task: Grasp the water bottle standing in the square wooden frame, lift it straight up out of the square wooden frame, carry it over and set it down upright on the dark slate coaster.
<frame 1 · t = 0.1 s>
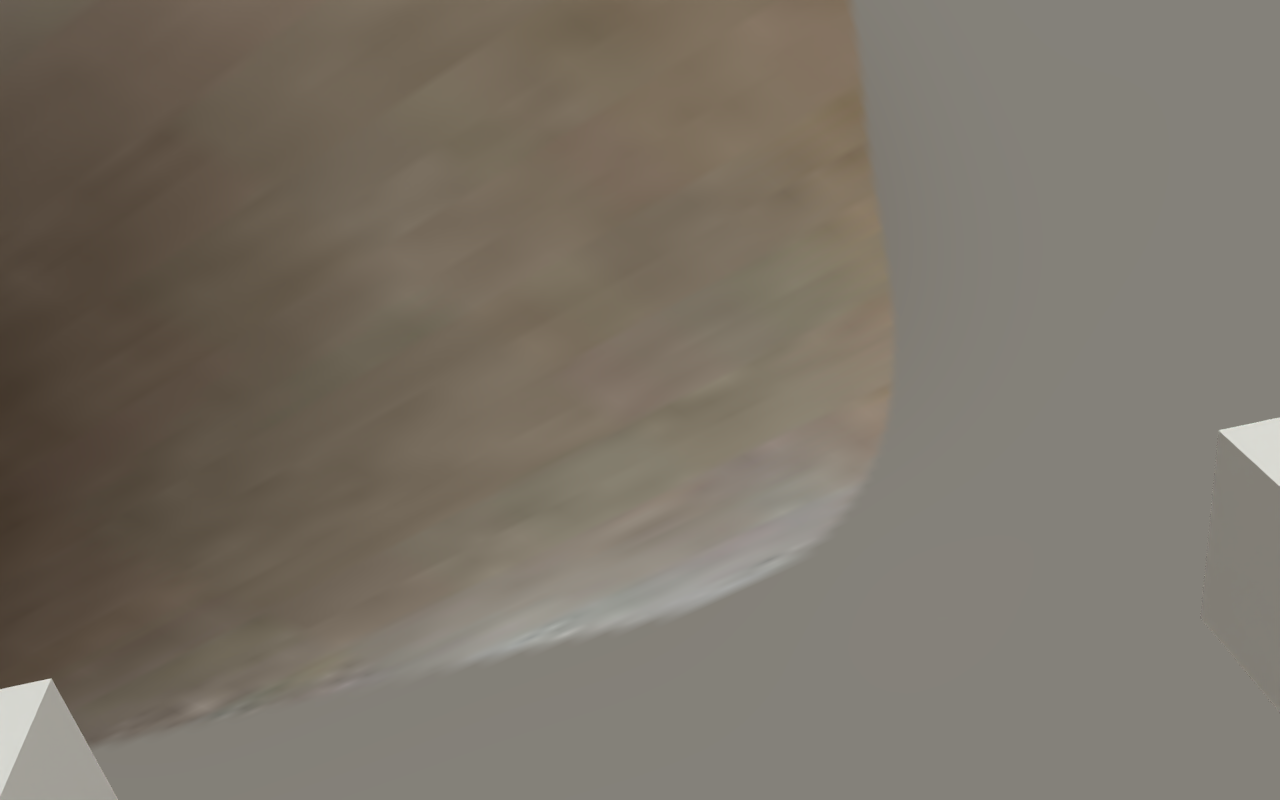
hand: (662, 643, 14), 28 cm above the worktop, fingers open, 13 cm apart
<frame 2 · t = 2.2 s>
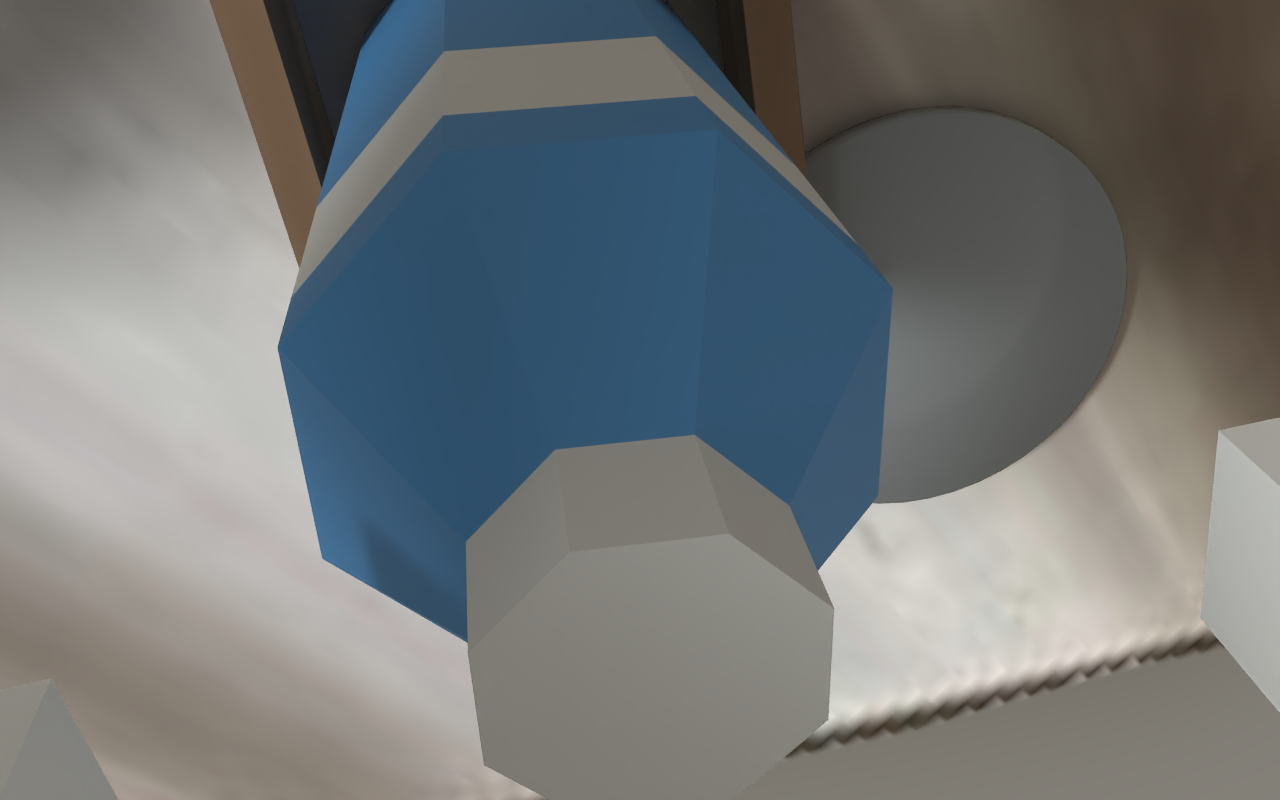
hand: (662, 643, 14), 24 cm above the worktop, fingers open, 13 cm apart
water bottle: (526, 82, 35), resting in square wooden frame
coaster: (913, 315, 40), on the worktop
square wooden frame: (526, 84, 34), on the worktop
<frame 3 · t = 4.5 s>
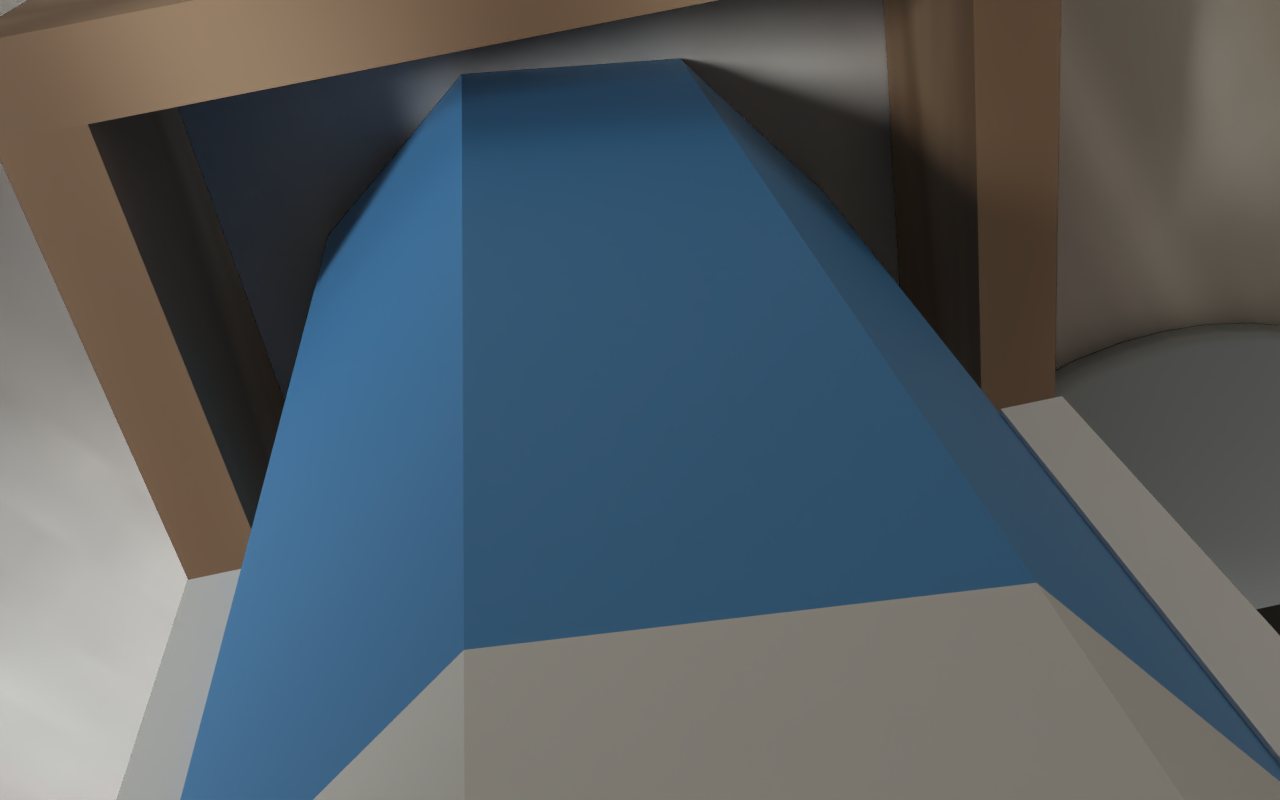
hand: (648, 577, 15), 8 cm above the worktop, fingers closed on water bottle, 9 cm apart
water bottle: (586, 302, 22), resting in square wooden frame, touching gripper
coaster: (1147, 604, 27), on the worktop
square wooden frame: (588, 307, 22), on the worktop
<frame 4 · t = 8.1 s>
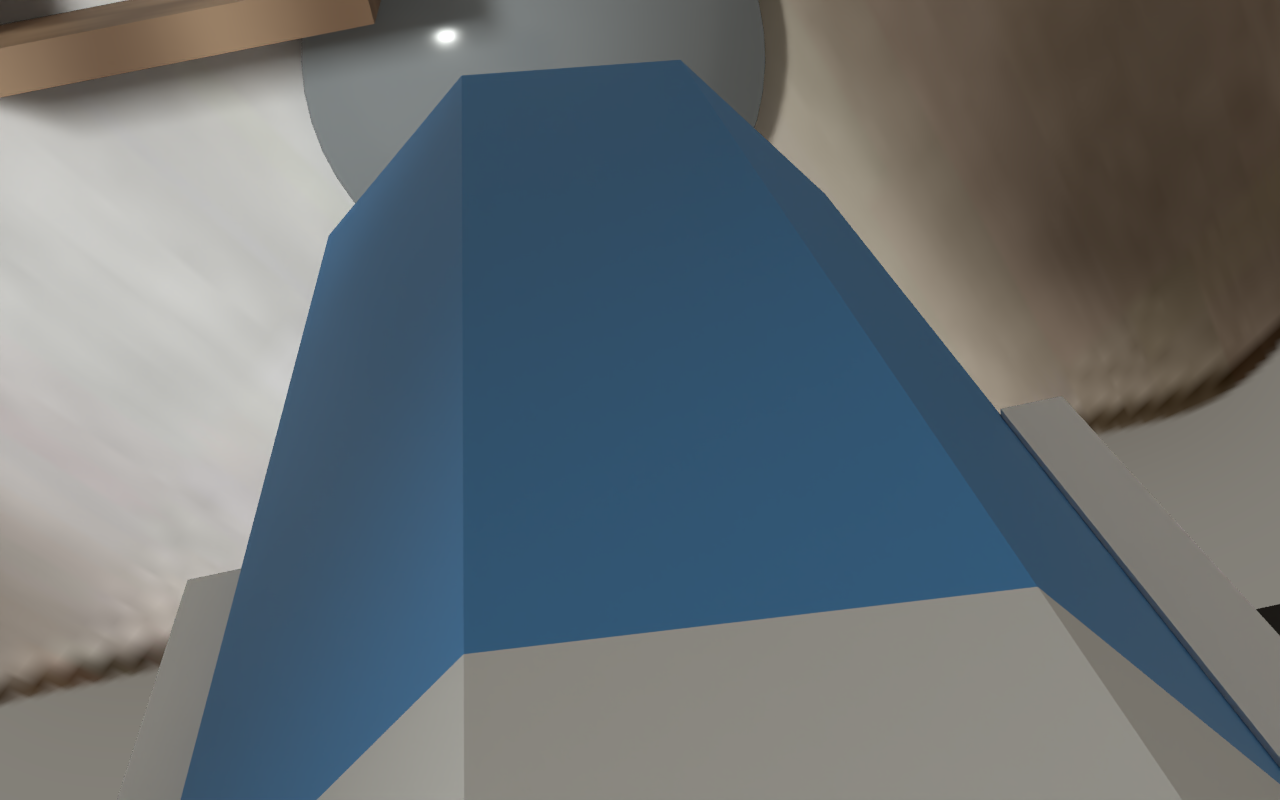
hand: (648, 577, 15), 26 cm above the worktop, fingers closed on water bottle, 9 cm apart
water bottle: (587, 303, 22), point 18 cm above the worktop, touching gripper
coaster: (537, 70, 37), on the worktop
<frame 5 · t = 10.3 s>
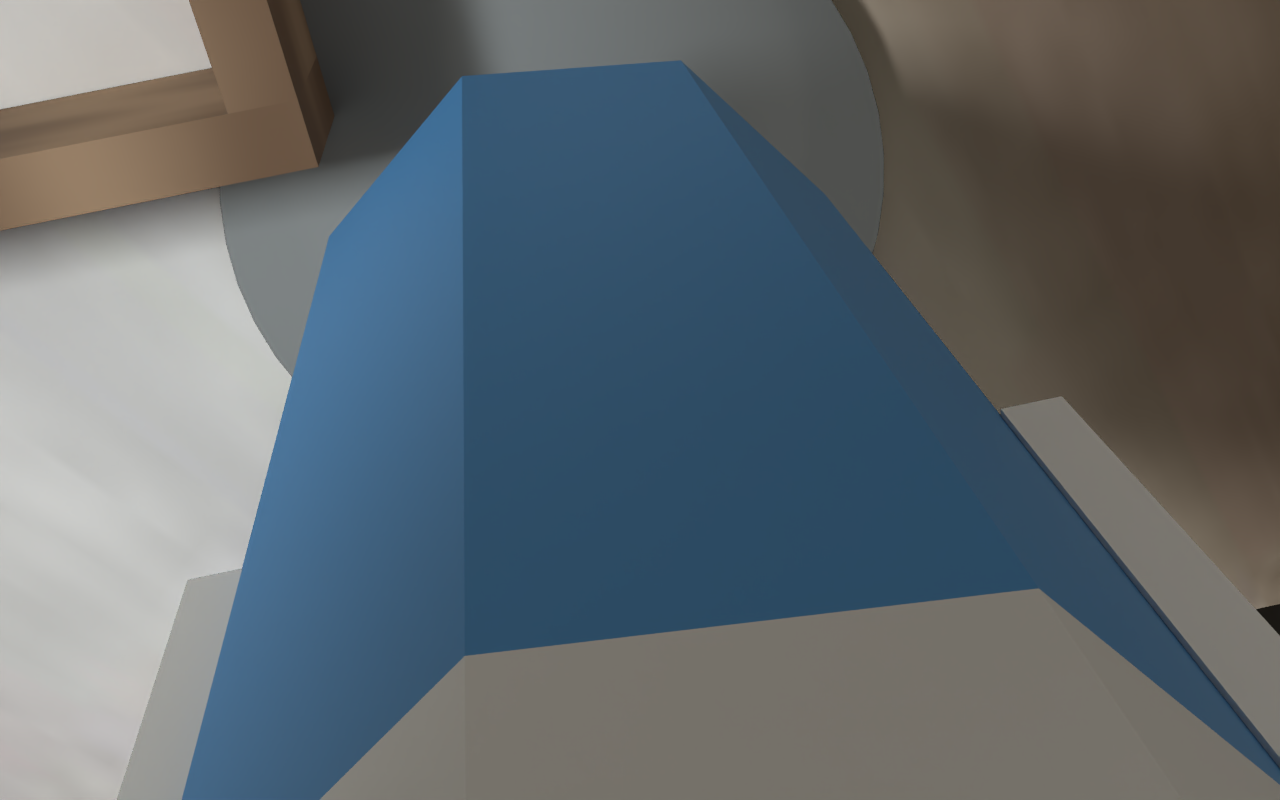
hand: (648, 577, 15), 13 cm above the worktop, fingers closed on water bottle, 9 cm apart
water bottle: (587, 304, 22), point 5 cm above the worktop, touching gripper
coaster: (561, 205, 26), on the worktop
when the fingers open (10 cm above the worktop, at t = 12.0 s): water bottle drops 1 cm, resting on coaster.
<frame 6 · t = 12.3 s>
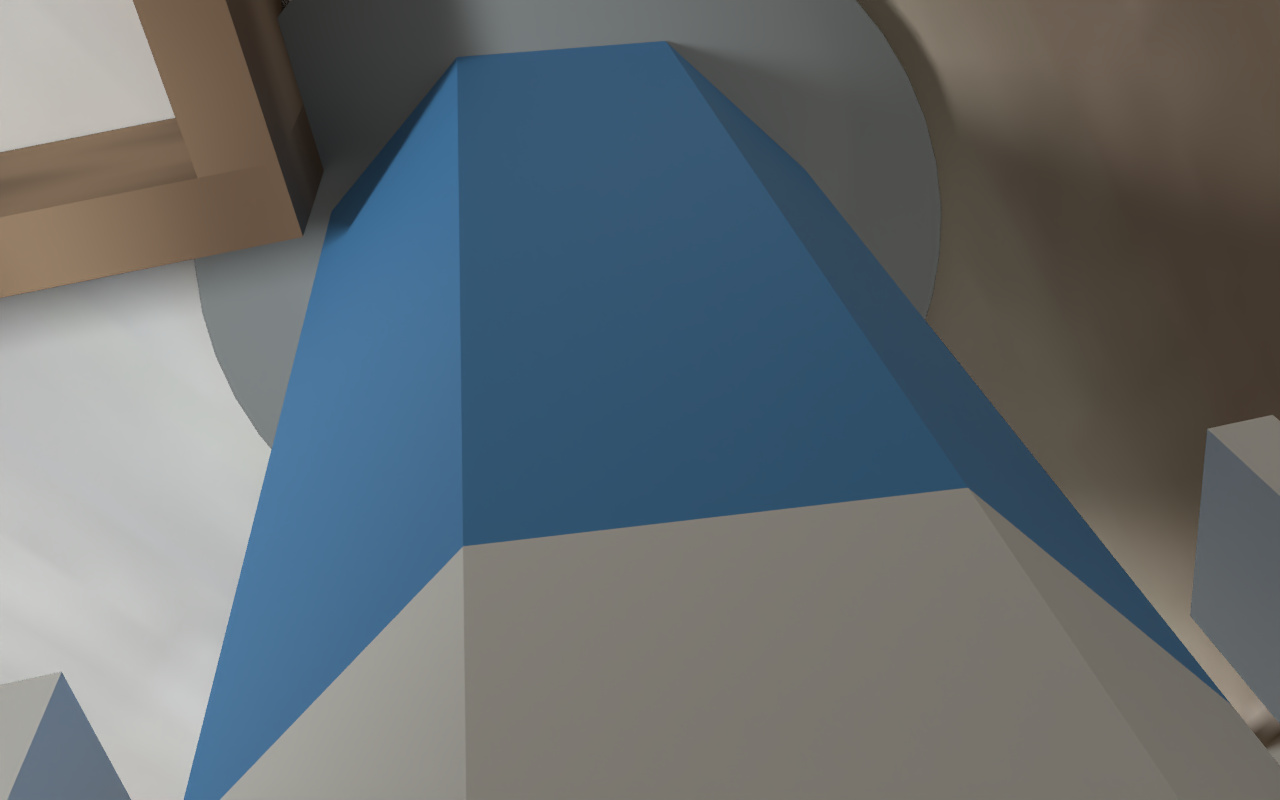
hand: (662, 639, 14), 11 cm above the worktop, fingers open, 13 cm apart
water bottle: (578, 276, 23), point 1 cm above the worktop, touching coaster
coaster: (578, 264, 23), on the worktop
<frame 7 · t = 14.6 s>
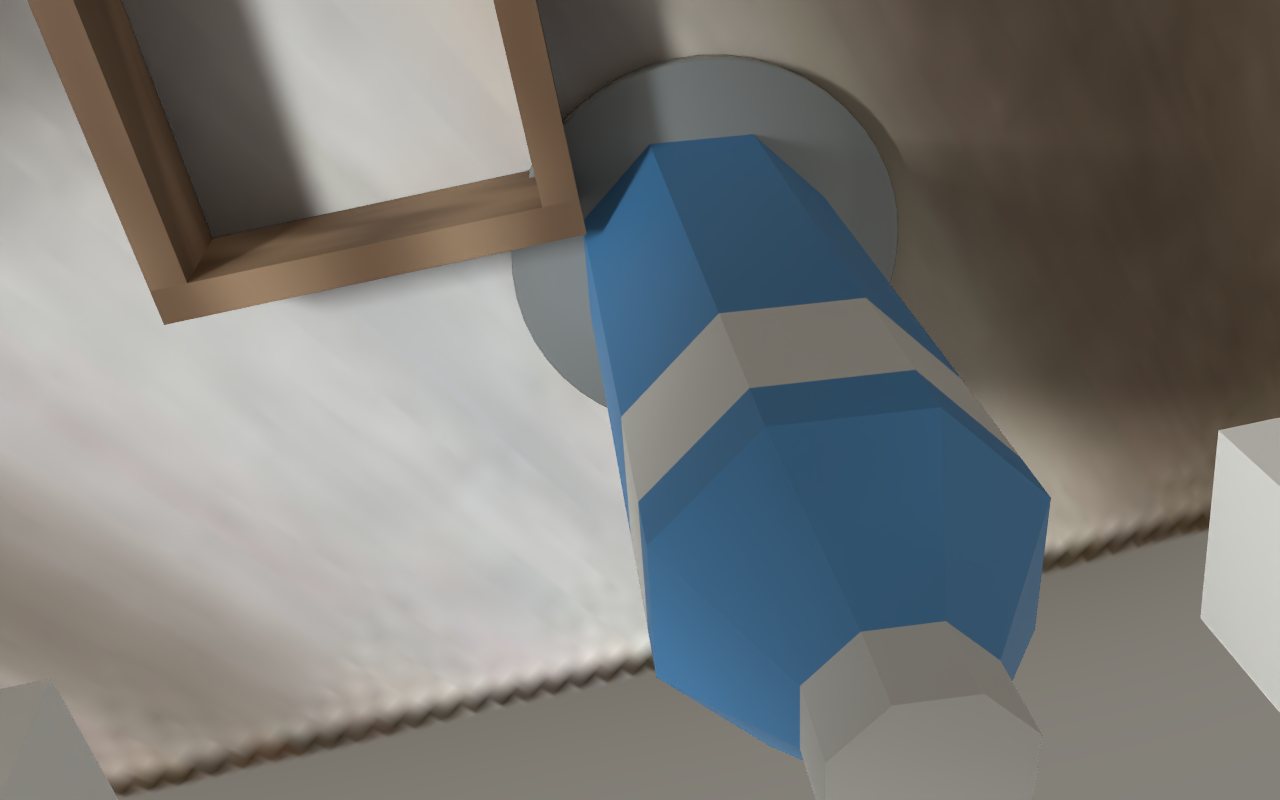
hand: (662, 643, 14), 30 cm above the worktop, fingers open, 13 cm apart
water bottle: (705, 254, 43), point 1 cm above the worktop, touching coaster
coaster: (704, 249, 44), on the worktop
square wooden frame: (324, 37, 39), on the worktop
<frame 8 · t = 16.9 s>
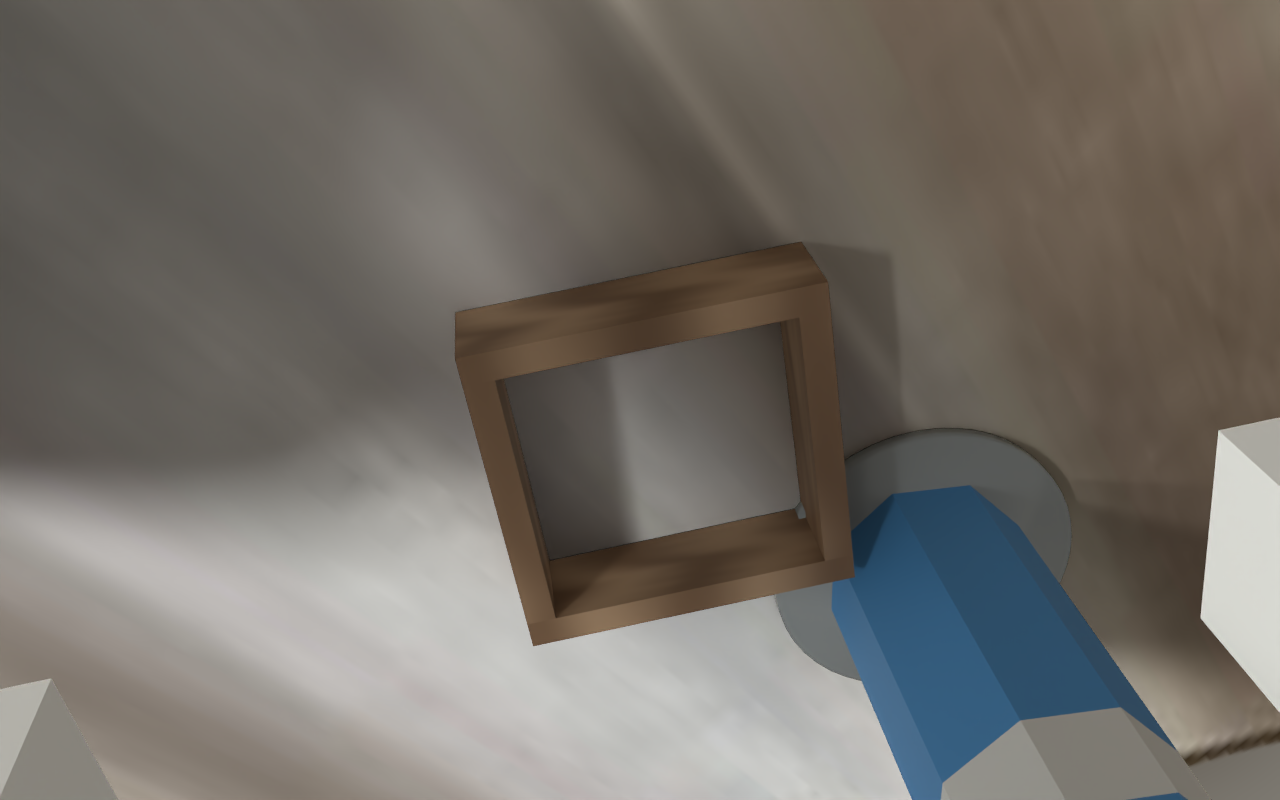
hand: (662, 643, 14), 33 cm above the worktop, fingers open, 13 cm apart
water bottle: (922, 564, 55), point 1 cm above the worktop, touching coaster
coaster: (919, 557, 56), on the worktop
square wooden frame: (656, 425, 50), on the worktop
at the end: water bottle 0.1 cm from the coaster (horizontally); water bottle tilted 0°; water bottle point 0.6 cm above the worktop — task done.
